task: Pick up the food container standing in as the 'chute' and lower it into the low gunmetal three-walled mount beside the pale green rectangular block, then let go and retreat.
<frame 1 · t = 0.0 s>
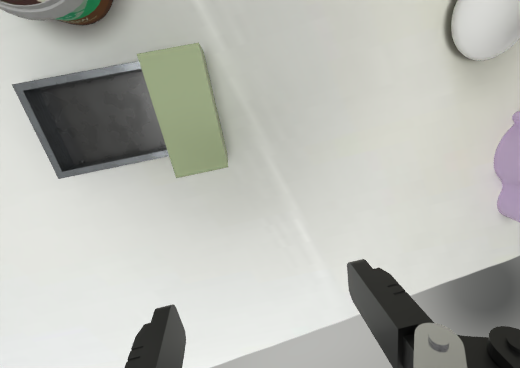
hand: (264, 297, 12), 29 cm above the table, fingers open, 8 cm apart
pale green rectangular block: (193, 110, 36), on the table
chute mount: (114, 118, 35), on the table
food container: (82, 7, 31), on the table
flower in vase: (477, 24, 38), on the table
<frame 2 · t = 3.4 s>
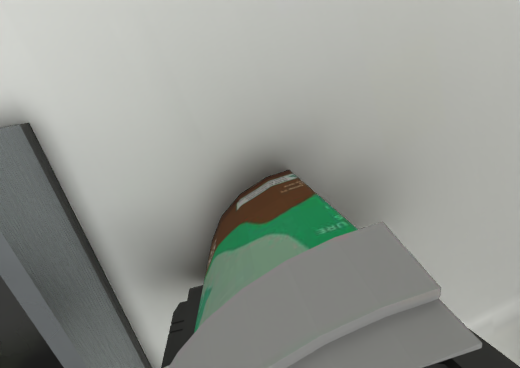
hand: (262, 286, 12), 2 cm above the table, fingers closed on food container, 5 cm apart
food container: (247, 259, 14), on the table, touching gripper
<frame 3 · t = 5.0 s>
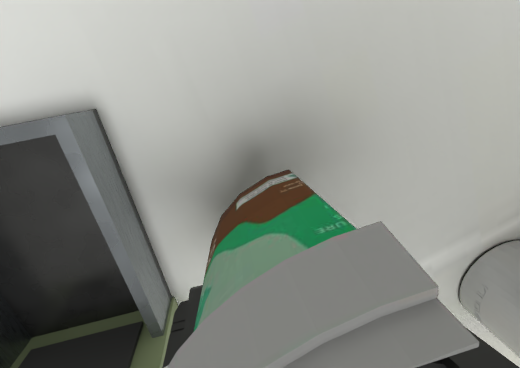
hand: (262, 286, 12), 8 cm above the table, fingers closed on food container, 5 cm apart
pale green rectangular block: (104, 346, 22), on the table
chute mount: (59, 241, 18), on the table
food container: (247, 259, 14), point 6 cm above the table, touching gripper
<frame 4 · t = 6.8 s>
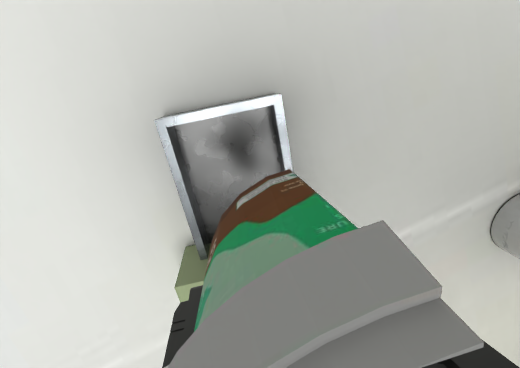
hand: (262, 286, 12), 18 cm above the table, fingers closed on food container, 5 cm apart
pale green rectangular block: (247, 255, 33), on the table
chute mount: (236, 177, 29), on the table
food container: (247, 259, 14), point 16 cm above the table, touching gripper
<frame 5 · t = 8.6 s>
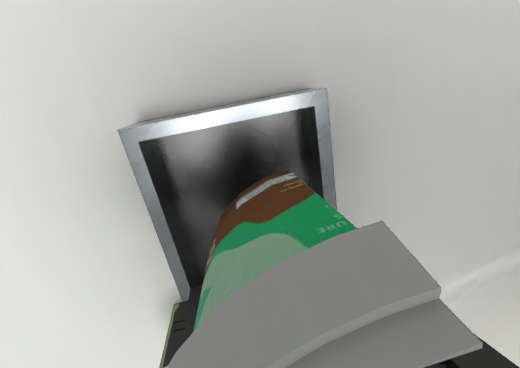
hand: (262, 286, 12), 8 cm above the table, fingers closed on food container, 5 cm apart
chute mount: (248, 210, 20), on the table
food container: (247, 259, 14), point 6 cm above the table, touching gripper
when the fingers open (4 cm above the table, at t = 9.9 s): food container drops 2 cm, resting on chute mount.
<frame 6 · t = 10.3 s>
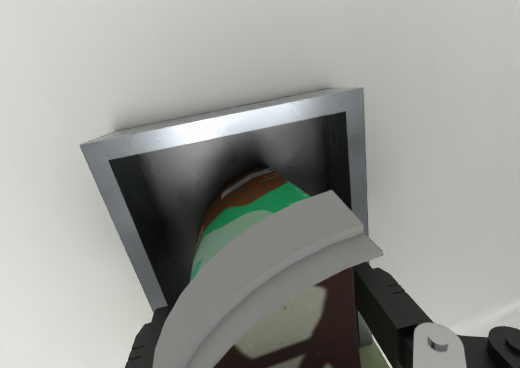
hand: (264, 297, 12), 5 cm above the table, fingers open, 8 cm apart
pale green rectangular block: (266, 353, 20), on the table
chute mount: (254, 237, 17), on the table
food container: (230, 247, 16), point 1 cm above the table, touching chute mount
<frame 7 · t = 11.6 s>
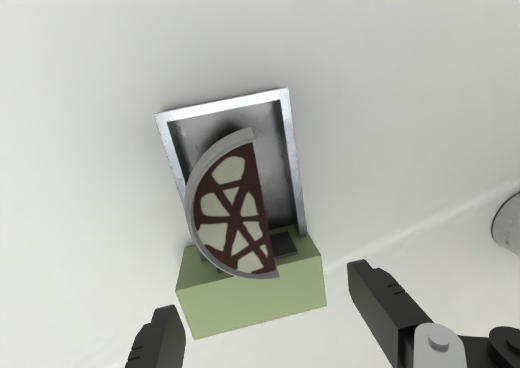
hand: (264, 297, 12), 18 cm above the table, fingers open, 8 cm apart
pale green rectangular block: (248, 256, 32), on the table
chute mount: (239, 175, 28), on the table
food container: (224, 179, 28), resting on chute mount
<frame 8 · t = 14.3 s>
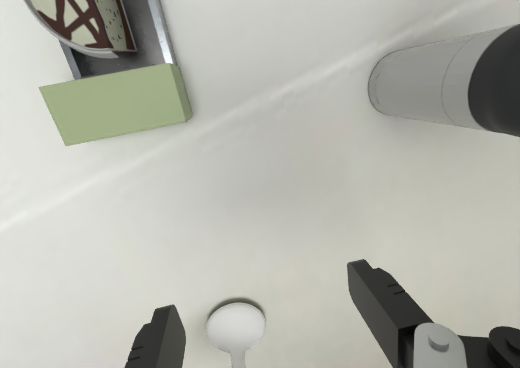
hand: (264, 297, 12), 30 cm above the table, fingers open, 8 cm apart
pale green rectangular block: (135, 102, 36), on the table
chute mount: (114, 13, 32), on the table
food container: (99, 14, 32), resting on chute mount
flower in vase: (231, 319, 51), on the table
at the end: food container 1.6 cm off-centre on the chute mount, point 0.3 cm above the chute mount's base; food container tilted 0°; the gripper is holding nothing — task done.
